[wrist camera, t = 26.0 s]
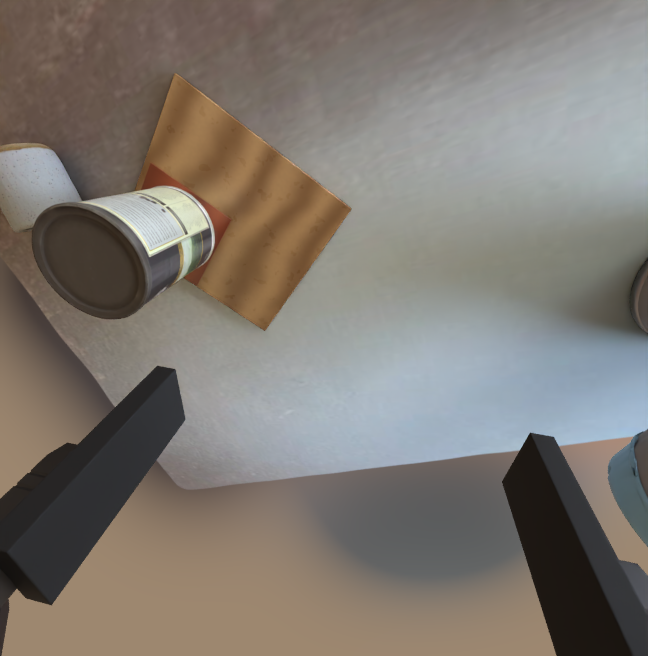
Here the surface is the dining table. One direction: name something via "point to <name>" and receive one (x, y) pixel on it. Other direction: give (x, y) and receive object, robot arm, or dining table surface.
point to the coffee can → (121, 248)
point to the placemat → (241, 203)
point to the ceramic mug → (31, 183)
